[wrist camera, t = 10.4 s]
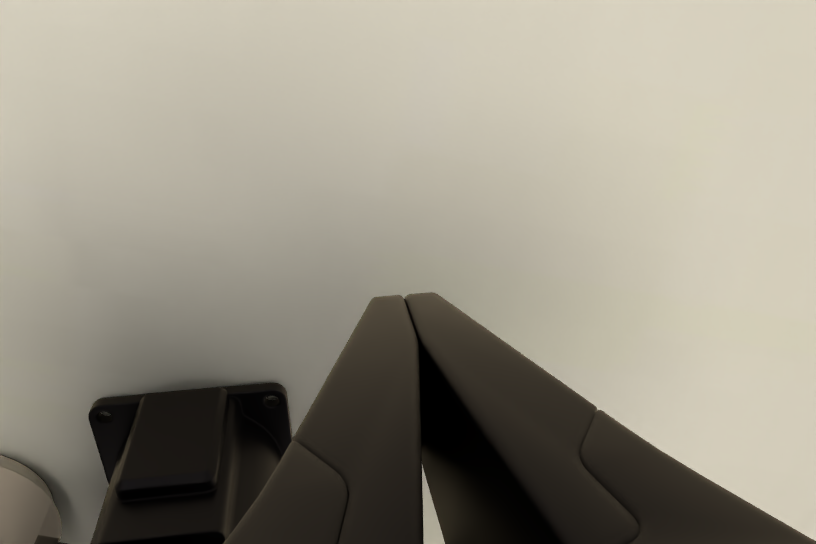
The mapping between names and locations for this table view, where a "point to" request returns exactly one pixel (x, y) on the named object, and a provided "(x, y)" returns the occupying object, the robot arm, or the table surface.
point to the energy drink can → (25, 505)
